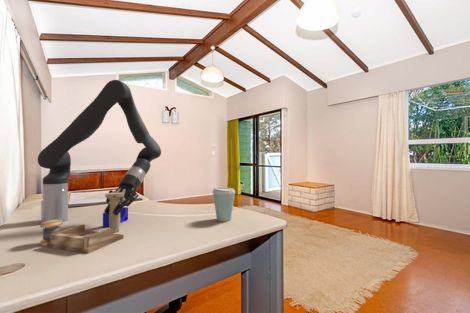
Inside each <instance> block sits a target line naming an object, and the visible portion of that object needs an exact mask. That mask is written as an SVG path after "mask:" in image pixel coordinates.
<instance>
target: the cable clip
mask: <svg viewBox="0 0 470 313" xmlns="http://www.w3.org/2000/svg"><path fill="white" fill-rule="evenodd" d="M126 221H129V206H125V207H123V208H122V210H121V211H120V224H122V223H124V222H126ZM102 228H105V229H108V228H110V226H109V214H106V213H105V212H103V213H102Z"/></svg>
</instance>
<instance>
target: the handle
mask: <svg viewBox="0 0 470 313" xmlns="http://www.w3.org/2000/svg"><path fill="white" fill-rule="evenodd" d="M104 196H105V198H106V199H107V198H108V199H110V209H109V226H110V227H109V228H113V233H117V232H119V231H120V226H121V223H120V213H119V214H118V215H114V214H113V211H114V209H115V208H116V206H117V205H118V204H119V200H120V198H121V197H123V196H124V193H123V192H115V193H109V192H107V193H105V194H104Z"/></svg>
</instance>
